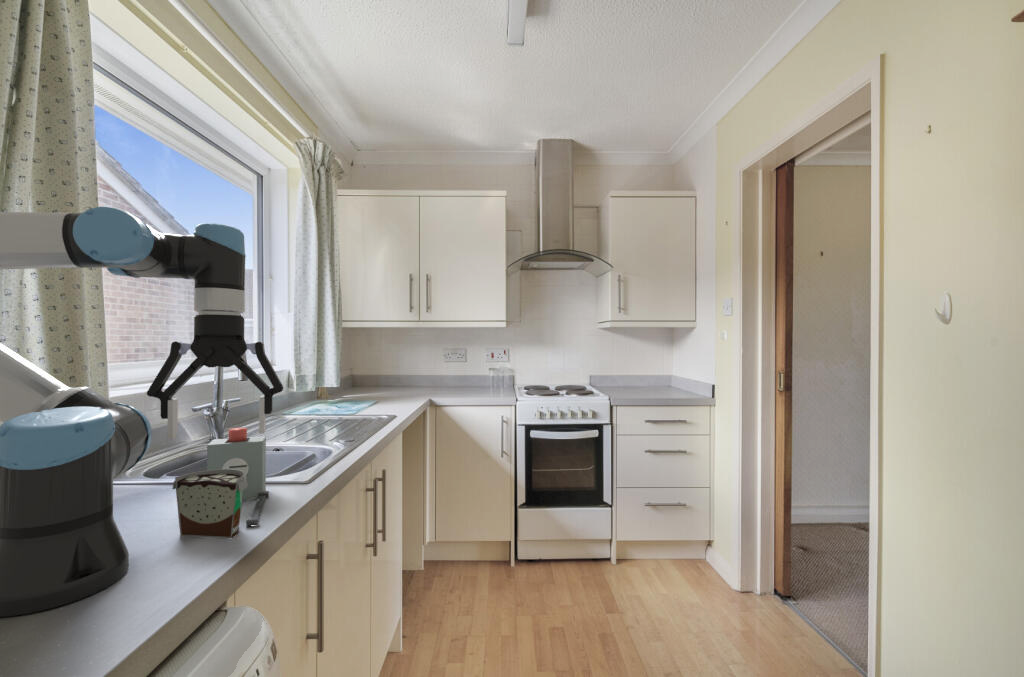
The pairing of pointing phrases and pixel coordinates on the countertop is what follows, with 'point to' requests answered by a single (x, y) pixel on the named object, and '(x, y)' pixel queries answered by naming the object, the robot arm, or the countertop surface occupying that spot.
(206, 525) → the food container
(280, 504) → the countertop surface
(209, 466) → the cabinet
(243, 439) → the button
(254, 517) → the guide rail
